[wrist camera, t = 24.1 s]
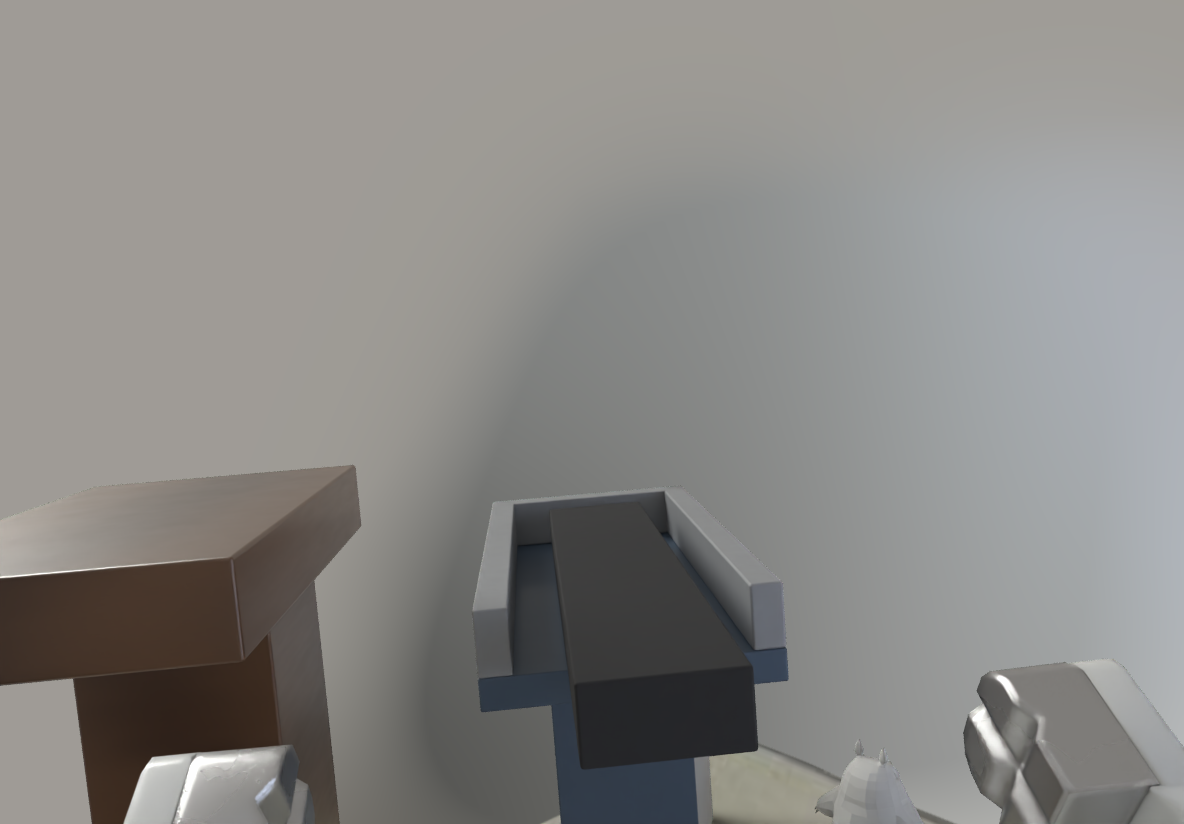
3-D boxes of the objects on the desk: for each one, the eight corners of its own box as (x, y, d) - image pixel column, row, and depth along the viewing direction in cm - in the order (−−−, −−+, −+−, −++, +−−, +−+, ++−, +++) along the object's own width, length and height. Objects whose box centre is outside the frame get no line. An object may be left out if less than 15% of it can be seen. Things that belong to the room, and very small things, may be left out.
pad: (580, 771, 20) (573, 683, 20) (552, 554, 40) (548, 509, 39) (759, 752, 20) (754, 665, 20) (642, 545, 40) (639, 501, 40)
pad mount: (518, 1316, 27) (453, 612, 25) (520, 942, 44) (482, 502, 42) (838, 1269, 28) (800, 579, 26) (720, 918, 45) (691, 484, 43)
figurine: (977, 903, 45) (971, 752, 44) (909, 960, 41) (901, 797, 40) (842, 839, 51) (835, 706, 50) (774, 884, 47) (765, 741, 47)
